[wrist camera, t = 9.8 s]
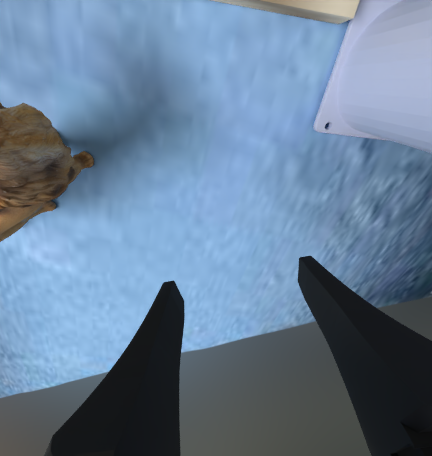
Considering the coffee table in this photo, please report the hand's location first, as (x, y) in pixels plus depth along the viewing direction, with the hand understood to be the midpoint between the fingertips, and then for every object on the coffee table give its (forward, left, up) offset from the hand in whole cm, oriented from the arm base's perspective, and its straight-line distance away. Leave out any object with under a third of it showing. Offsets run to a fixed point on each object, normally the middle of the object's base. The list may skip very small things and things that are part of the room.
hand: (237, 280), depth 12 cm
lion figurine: (+15, -2, -10) cm, 18 cm away
